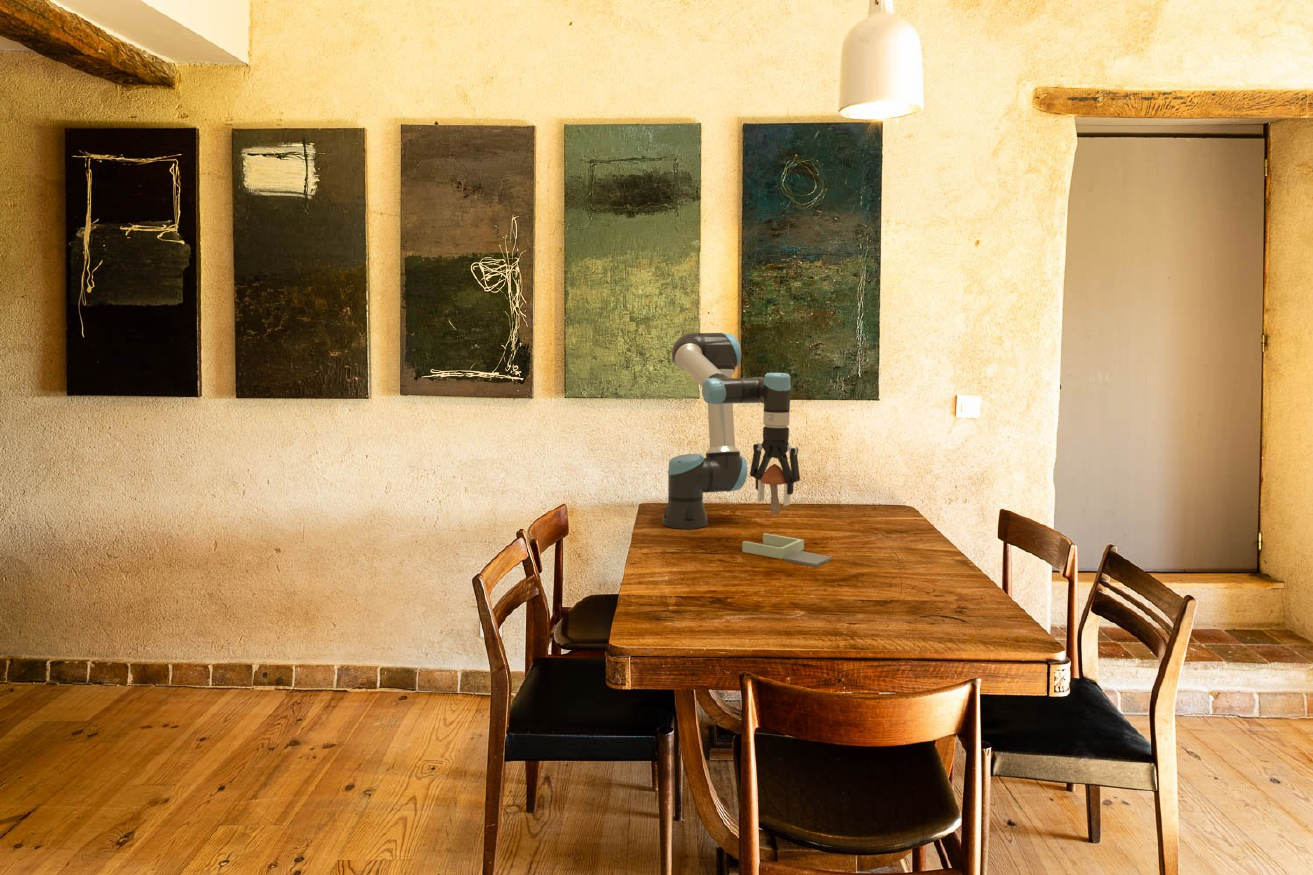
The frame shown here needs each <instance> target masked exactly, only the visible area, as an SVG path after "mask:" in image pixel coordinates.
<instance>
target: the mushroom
mask: <svg viewBox="0 0 1313 875" xmlns="http://www.w3.org/2000/svg"><path fill="white" fill-rule="evenodd" d="M761 482H762V483H765V485H769V487H770V489H769V490H770V504H769V506H770V508H769V511H770V514H771V515H779V514H780V513H781V503H780V501H779V495H778V494H779V493H778V485H779V486H781V485H784V483H786V482H787V481H786V478H785V475H784V473H783V470H782V467H780V466H779V465H777V464H776V463H773V464H772V465H770V466H769V467H768V468H766V470H765V473H764V474H763V476H762V478H761Z"/></svg>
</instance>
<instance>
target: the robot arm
mask: <svg viewBox="0 0 1313 875" xmlns="http://www.w3.org/2000/svg"><path fill="white" fill-rule="evenodd" d="M671 359H672V362H673V363H674V364H675V367H677V368H678V369H679V370H681V371H684V372H686V373H687V374H689V376H690V377H692V378H693V380H694V381H695V382H696V383H698V385H699V386H700V387H701V395H702V396H701V397H702V398H703V401H704V402H705V403H706V404H707V418H708V437H709V438H708V439H709V448H708V449H707V451H706V452H705V457H704V455H703V454H702V453H687V454H679V455H676V456H673V457H672V458H671V459H670V460H669V462H668V470H667V474H668V476H667V479H668V484H667V485H668V487H667V491H668V492H667V495H668V496H667V504H666V507H665V510H664V513H663V516H662V525H663V526H665V527H668V528H671V529H677V530H678V529H682V530H695V529H702V528H705V527H707V526H708V522H709V521H708V520H709V519H708V516H707V512H706V508H705V506H704V502H703V500H704V493H722V492H723V493H724V492H735V491H739V490H741V489H742V488H743V486H744V485H745V483H746V481H747V476H748V463H747V459H746V458H745V457H743V456H742V455H741V451H740V450H739V448H737V446H736V438H735V437H736V436H735V420H734V419H735V418H734V417H735V416H734V404H763V417H762V424H763V428H762V439H763V441H762V443H758V442H757V443H754V444H753V445H752V447H753V449H752V450H753V455H752V460H751V466H750V471H749V476H750V477H752V478H754V479H755V490H756V491H757V502H759V503H760V502H764V501H765V486H766V484H765V483H762V482H761V478H762V476H763V474H764V473H765V471H766V470H767V469H768V468H767V467H768V466H769V463H770V461H771V459H772V458H774V459H777V460H778V462H779V464H780V466H781V467H780V468H781V469H782V470H783V473H784V475H785V478H786V481H787V482H786V483H784V484H783V487H784V488H783V506H784V507H787V506H790V505H791V495H793V494H794V485H795V484H794V483H797V482H799V481H801V476H800V467H799V460H798V453H799V447H797V446H796V447H795V446H794V447H793V446H790V444H789V438H790V428H789V427H788V426H789V425H790V412H791V411H790V410H791V409H790V406H791V389H792V384H791V376H790V374H789V373H787V372H786V373H785V372H767V373H766V374H765V375H764V377H762V376H755V377H732V376H733V375H734V374H735V373H736V368H738V367H739V365H740V364H741V361H742V360H741V359H742V349H741V345H740V342H739V340H738V339H737V337H736V336H735V335H734V334H731V333H726V332H690V333H689V332H688V333H686V334H684V335H682V336H681V337H678V339H676V341H675V342H674V344H673V346H672V349H671ZM762 451H764V453H763V455H762ZM787 452H788V454H789V461H788V456H787ZM761 456H762V460H761ZM760 462H761V463H760ZM789 463H790V464H789Z"/></svg>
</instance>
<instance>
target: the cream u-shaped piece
mask: <svg viewBox="0 0 1313 875" xmlns="http://www.w3.org/2000/svg"><path fill="white" fill-rule="evenodd" d="M741 547H742V549H741V550H742V552H741V553H748V554H753V555H759V556H765V557H769V558H773V559H774V558H775V559H779V560H783V559H784V558H786V557H788V556H790V555H793V554H795V553H797V552H799V551H804V550H805V539H803V538H801V539H800V538H796V537H788V536H783V535H777V534H773V533H772V534H771V533H763V534H762V543H758V542H752V541H747V540H744V541H742V546H741Z"/></svg>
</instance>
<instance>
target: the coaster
mask: <svg viewBox="0 0 1313 875" xmlns="http://www.w3.org/2000/svg"><path fill="white" fill-rule="evenodd" d="M832 560H833V555H827V554H826V555H825V554H820V553H815V552H814V553H813V552H809V551H804V550H802V551H799V552H797V553H795V554H793V555H790V556H788V557H786V558H784V560H783V561H784V562H789V563H794V564H798V565H805V566H810V567H815V568H817V567H820V566H821V565H824V564H825V563H828V562H829V561H832Z"/></svg>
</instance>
